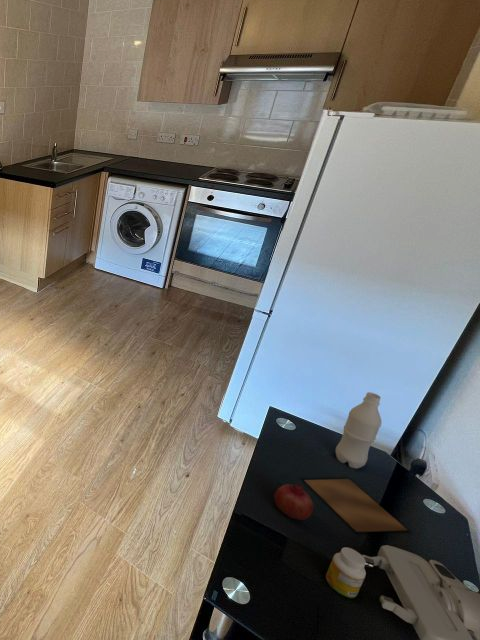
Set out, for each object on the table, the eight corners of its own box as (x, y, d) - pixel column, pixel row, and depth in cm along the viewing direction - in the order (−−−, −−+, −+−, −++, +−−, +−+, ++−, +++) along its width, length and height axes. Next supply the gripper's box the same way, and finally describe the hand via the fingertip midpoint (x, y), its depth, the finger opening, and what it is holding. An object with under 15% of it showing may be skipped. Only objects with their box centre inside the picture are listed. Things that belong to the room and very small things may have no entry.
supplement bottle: (326, 569, 95) (338, 539, 92) (356, 587, 92) (370, 556, 89) (323, 586, 92) (336, 555, 89) (355, 605, 88) (369, 574, 85)
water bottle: (331, 450, 132) (355, 385, 124) (361, 460, 128) (387, 393, 120) (334, 464, 126) (359, 396, 119) (365, 475, 122) (393, 406, 115)
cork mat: (406, 532, 105) (407, 529, 105) (355, 534, 104) (356, 531, 104) (348, 481, 120) (349, 478, 120) (303, 482, 119) (304, 479, 119)
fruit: (299, 533, 104) (310, 503, 101) (265, 508, 111) (274, 479, 108) (314, 519, 108) (324, 490, 105) (280, 496, 114) (289, 468, 112)
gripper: (487, 679, 75) (389, 640, 80) (425, 575, 92) (348, 549, 98) (502, 657, 73) (400, 619, 78) (435, 555, 91) (356, 529, 96)
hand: (371, 579), depth 88 cm, fingers open, 8 cm apart
